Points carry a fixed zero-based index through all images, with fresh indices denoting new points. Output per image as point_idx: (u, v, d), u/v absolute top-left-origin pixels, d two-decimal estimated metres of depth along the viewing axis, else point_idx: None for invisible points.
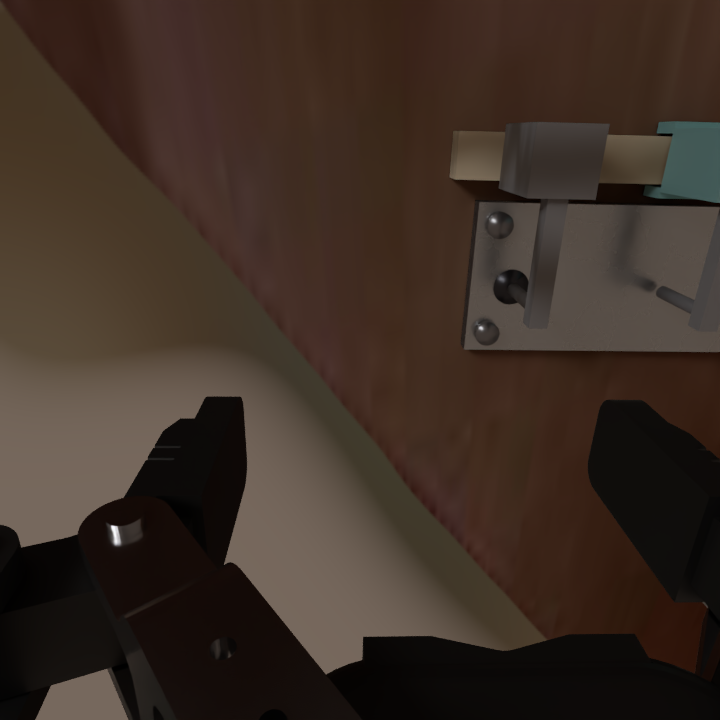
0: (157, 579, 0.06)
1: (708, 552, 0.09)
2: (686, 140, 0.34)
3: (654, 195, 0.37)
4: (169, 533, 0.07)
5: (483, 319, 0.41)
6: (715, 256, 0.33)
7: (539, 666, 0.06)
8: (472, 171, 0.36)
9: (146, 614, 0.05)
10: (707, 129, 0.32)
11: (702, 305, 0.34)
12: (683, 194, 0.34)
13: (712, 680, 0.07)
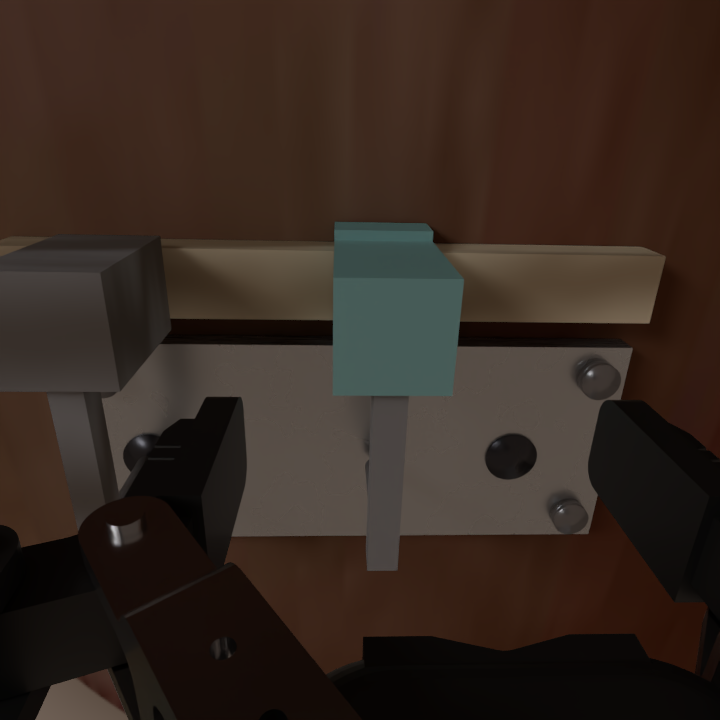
0: (157, 579, 0.06)
1: (708, 552, 0.09)
2: None
3: None
4: (169, 533, 0.07)
5: None
6: (370, 463, 0.20)
7: (539, 666, 0.06)
8: None
9: (146, 614, 0.05)
10: None
11: (368, 532, 0.21)
12: None
13: (712, 680, 0.07)
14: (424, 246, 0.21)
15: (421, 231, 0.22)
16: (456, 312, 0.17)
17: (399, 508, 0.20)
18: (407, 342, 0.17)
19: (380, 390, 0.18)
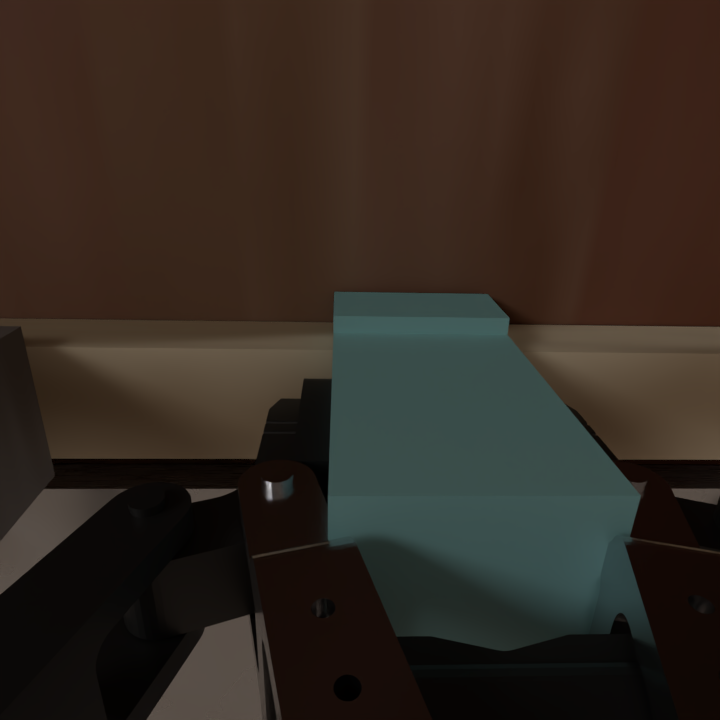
0: (289, 535, 0.07)
1: None
2: None
3: None
4: (318, 490, 0.08)
5: None
6: None
7: (540, 666, 0.06)
8: None
9: (269, 559, 0.06)
10: None
11: None
12: None
13: None
14: (498, 351, 0.11)
15: (488, 317, 0.12)
16: None
17: None
18: (495, 617, 0.08)
19: None
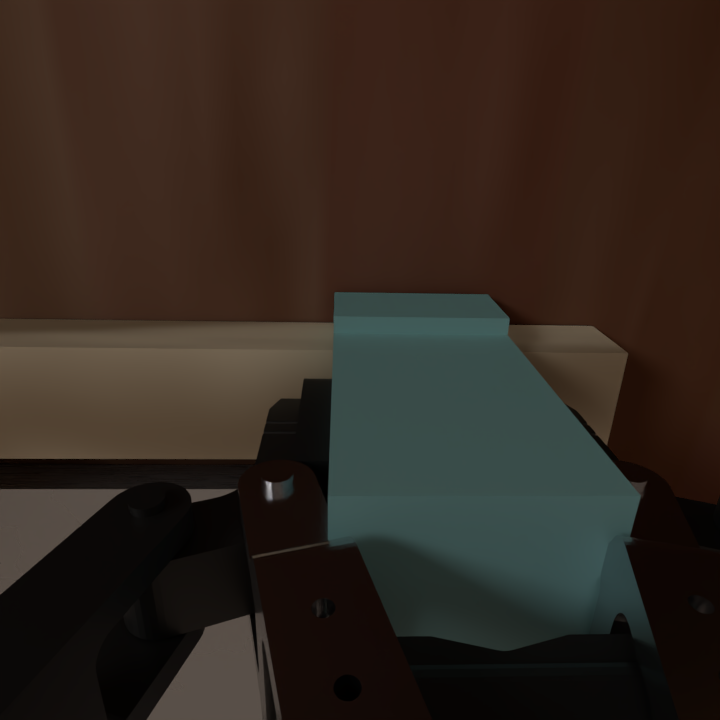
0: (289, 534, 0.07)
1: None
2: None
3: None
4: (319, 490, 0.08)
5: None
6: None
7: (539, 666, 0.06)
8: None
9: (269, 559, 0.06)
10: None
11: None
12: None
13: None
14: (498, 351, 0.11)
15: (488, 318, 0.12)
16: None
17: None
18: (495, 618, 0.08)
19: None
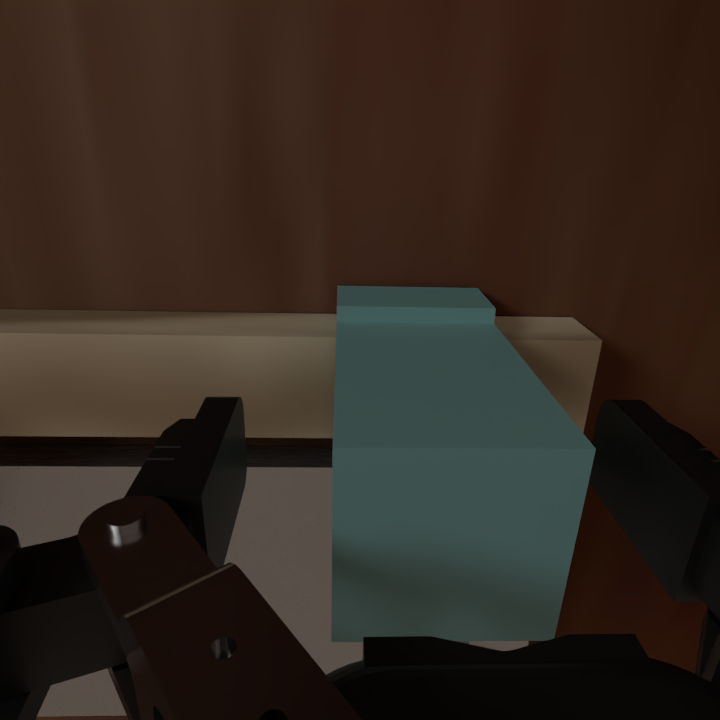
0: (156, 578, 0.07)
1: (708, 552, 0.09)
2: None
3: None
4: (169, 533, 0.07)
5: None
6: None
7: (540, 665, 0.06)
8: None
9: (146, 614, 0.05)
10: None
11: None
12: None
13: (712, 680, 0.07)
14: (484, 337, 0.13)
15: (476, 308, 0.14)
16: (574, 505, 0.09)
17: None
18: (475, 557, 0.09)
19: (419, 632, 0.10)
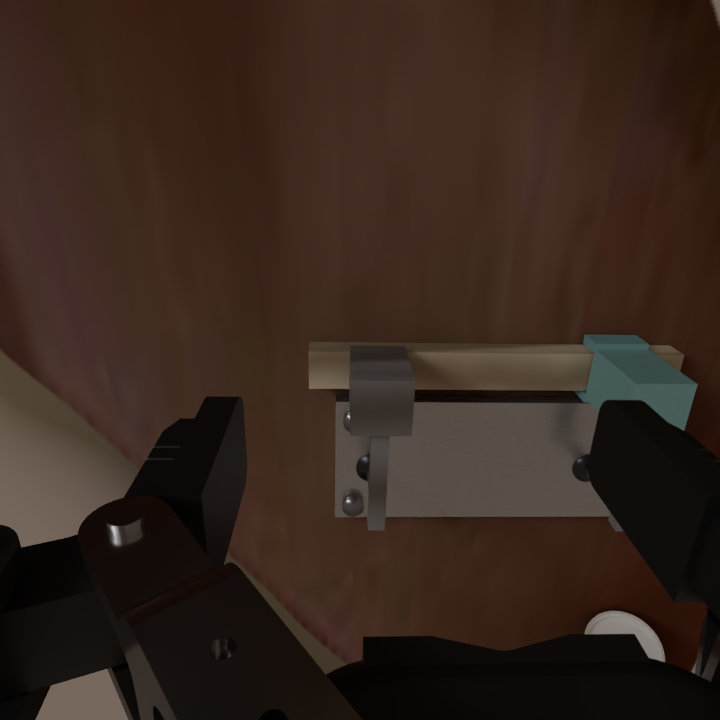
0: (156, 579, 0.06)
1: (708, 552, 0.09)
2: (603, 366, 0.38)
3: (581, 397, 0.42)
4: (169, 532, 0.07)
5: (349, 493, 0.45)
6: None
7: (539, 666, 0.06)
8: (323, 382, 0.40)
9: (146, 614, 0.05)
10: (617, 369, 0.37)
11: None
12: None
13: (712, 680, 0.07)
14: (649, 354, 0.39)
15: (642, 344, 0.40)
16: (691, 399, 0.35)
17: None
18: (664, 413, 0.35)
19: None
